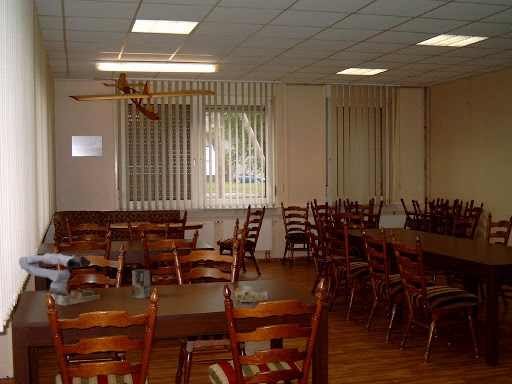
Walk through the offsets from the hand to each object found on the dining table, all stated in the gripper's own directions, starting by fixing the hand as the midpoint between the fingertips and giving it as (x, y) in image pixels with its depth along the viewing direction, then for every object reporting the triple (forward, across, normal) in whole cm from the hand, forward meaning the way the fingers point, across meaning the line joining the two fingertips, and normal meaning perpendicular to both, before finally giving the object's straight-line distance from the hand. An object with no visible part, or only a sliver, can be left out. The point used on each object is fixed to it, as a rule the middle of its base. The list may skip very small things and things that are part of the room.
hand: (84, 264), depth 391 cm
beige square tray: (-1, -1, +20) cm, 20 cm away
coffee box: (+21, +25, +21) cm, 39 cm away
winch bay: (-1, -7, +21) cm, 22 cm away
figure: (+82, +49, +20) cm, 97 cm away
